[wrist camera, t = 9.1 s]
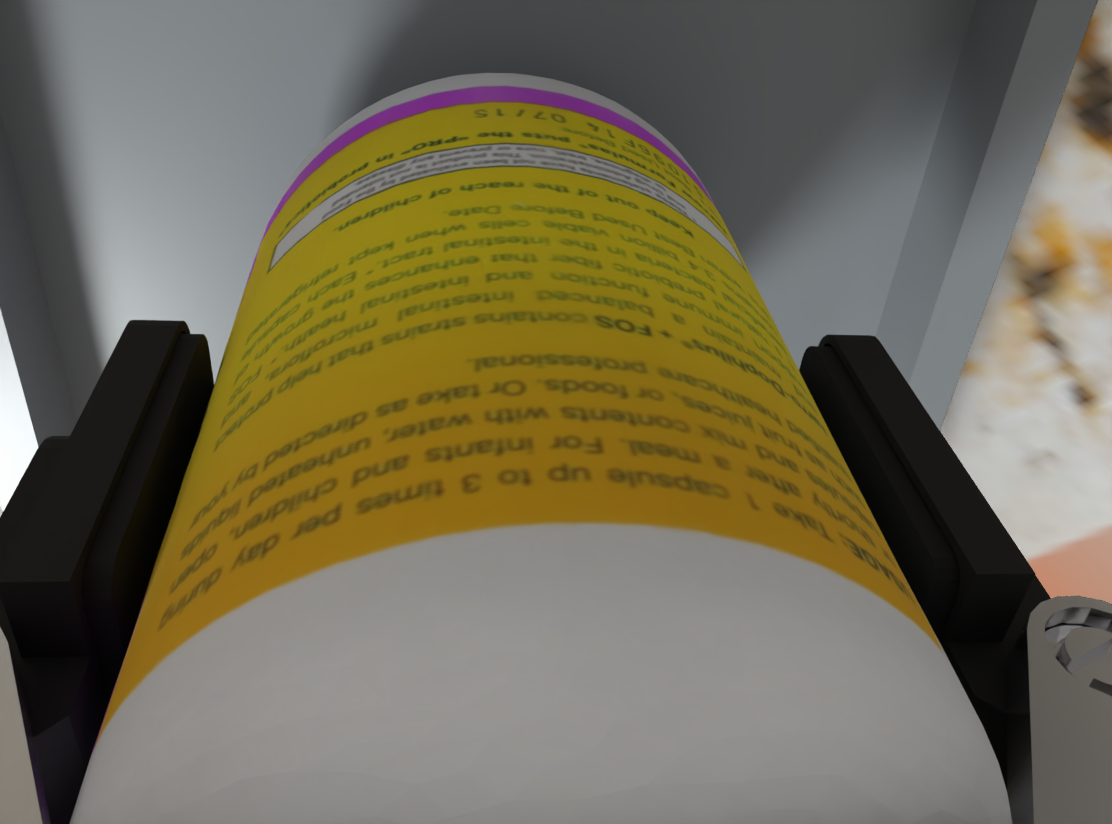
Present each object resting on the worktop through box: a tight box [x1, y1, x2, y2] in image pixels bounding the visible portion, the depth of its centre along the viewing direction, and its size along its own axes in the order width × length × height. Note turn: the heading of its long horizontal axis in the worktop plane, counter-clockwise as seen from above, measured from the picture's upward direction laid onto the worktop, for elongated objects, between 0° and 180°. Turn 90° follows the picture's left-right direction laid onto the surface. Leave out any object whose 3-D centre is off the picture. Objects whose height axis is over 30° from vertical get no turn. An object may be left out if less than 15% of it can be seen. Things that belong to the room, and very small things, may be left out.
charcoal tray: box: [0, 0, 1098, 511], centre depth 15 cm, size 15×15×2 cm
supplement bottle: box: [70, 73, 1013, 824], centre depth 9 cm, size 7×7×13 cm
